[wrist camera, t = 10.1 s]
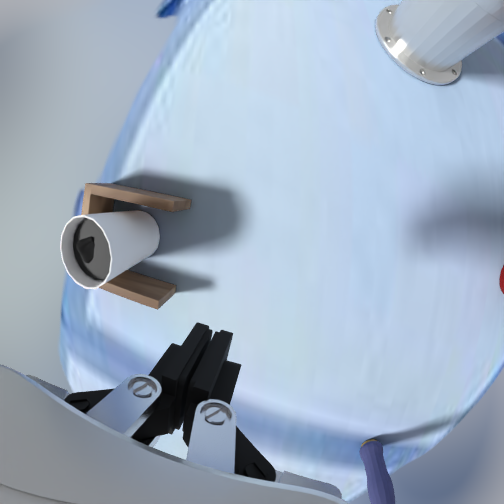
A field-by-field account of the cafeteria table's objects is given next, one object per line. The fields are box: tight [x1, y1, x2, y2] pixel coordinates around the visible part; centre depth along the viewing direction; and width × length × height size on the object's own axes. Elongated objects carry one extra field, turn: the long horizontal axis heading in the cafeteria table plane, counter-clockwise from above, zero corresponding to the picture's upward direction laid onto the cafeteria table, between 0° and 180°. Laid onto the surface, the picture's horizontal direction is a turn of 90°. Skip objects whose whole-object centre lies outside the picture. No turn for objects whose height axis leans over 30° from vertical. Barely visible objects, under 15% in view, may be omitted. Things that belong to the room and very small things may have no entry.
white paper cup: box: [60, 210, 160, 289], centre depth 25 cm, size 7×7×10 cm
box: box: [81, 183, 191, 309], centre depth 28 cm, size 11×11×5 cm
